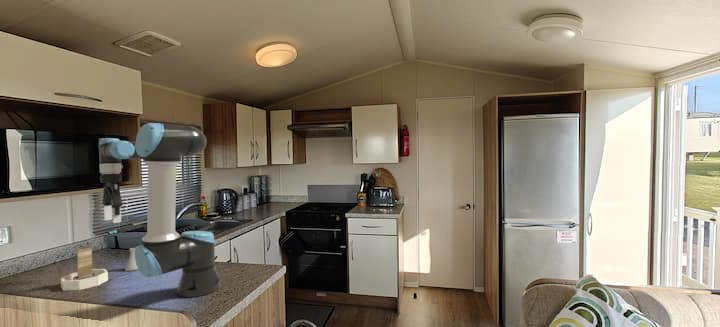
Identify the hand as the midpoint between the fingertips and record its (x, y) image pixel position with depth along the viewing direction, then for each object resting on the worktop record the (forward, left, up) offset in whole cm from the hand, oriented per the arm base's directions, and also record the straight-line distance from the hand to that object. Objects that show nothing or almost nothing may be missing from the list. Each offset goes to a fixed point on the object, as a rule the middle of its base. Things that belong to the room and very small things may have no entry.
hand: (112, 221), depth 141 cm
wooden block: (+4, +9, -25) cm, 27 cm away
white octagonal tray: (+4, +9, -26) cm, 28 cm away
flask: (+10, -10, -26) cm, 29 cm away
